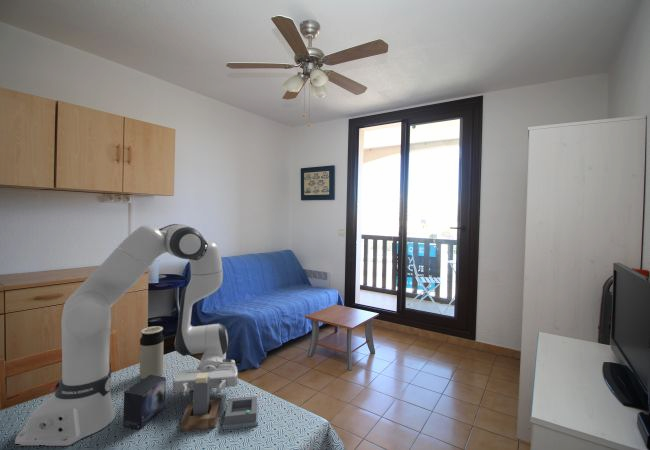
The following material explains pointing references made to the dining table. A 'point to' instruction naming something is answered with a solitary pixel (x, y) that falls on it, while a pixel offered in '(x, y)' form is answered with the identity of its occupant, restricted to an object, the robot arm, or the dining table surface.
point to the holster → (200, 417)
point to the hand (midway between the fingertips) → (202, 391)
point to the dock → (241, 413)
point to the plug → (201, 394)
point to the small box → (144, 401)
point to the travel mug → (151, 352)
